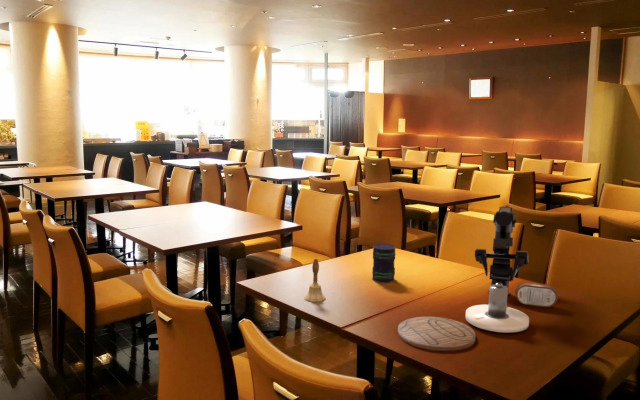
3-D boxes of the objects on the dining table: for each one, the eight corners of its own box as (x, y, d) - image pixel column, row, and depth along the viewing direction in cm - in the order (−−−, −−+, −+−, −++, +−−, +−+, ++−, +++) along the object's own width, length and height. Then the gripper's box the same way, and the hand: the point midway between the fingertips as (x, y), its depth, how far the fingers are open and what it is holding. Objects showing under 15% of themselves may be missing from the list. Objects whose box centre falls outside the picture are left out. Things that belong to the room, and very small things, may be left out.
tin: (556, 306, 203) (558, 285, 201) (557, 309, 200) (558, 287, 198) (514, 301, 207) (516, 281, 206) (514, 304, 204) (516, 283, 203)
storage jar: (398, 278, 235) (399, 245, 233) (388, 284, 227) (389, 250, 225) (378, 274, 241) (379, 242, 238) (368, 280, 232) (369, 247, 230)
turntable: (498, 306, 199) (498, 301, 198) (542, 326, 180) (542, 320, 180) (453, 314, 190) (453, 309, 190) (494, 336, 171) (495, 330, 171)
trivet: (426, 358, 158) (426, 352, 158) (383, 327, 181) (383, 322, 181) (491, 345, 168) (492, 339, 168) (443, 317, 191) (444, 312, 190)
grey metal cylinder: (499, 311, 188) (501, 280, 187) (509, 317, 183) (511, 285, 181) (484, 312, 187) (486, 281, 185) (494, 318, 181) (496, 287, 180)
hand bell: (307, 294, 213) (307, 255, 211) (327, 295, 211) (328, 257, 209) (302, 301, 205) (302, 261, 203) (323, 303, 203) (323, 262, 201)
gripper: (475, 228, 200) (470, 264, 192) (528, 230, 192) (526, 268, 184) (478, 243, 208) (474, 278, 200) (529, 245, 200) (527, 282, 192)
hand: (499, 276), depth 194 cm, fingers open, 9 cm apart
